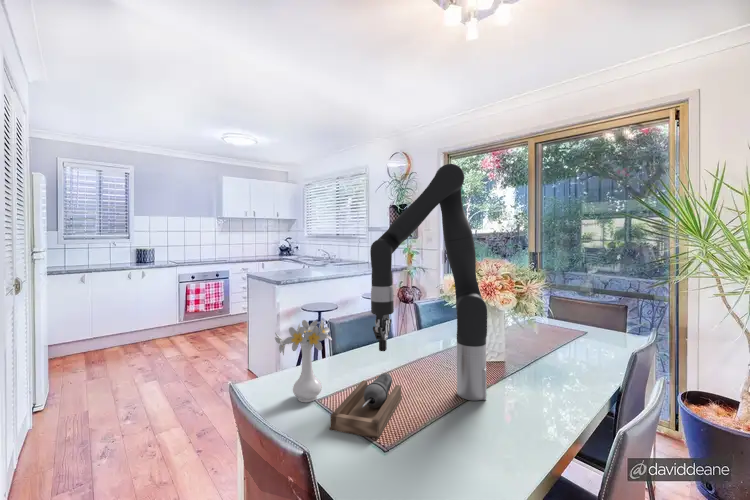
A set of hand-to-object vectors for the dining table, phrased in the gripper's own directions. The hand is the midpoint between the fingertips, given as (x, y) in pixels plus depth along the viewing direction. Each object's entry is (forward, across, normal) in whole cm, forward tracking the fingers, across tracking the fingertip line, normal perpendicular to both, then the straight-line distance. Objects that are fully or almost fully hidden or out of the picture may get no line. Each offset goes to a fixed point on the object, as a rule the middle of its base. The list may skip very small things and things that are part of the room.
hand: (382, 350), depth 115 cm
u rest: (+14, -14, 0) cm, 20 cm away
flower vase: (+14, -13, +22) cm, 29 cm away
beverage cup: (+10, 0, -1) cm, 10 cm away
